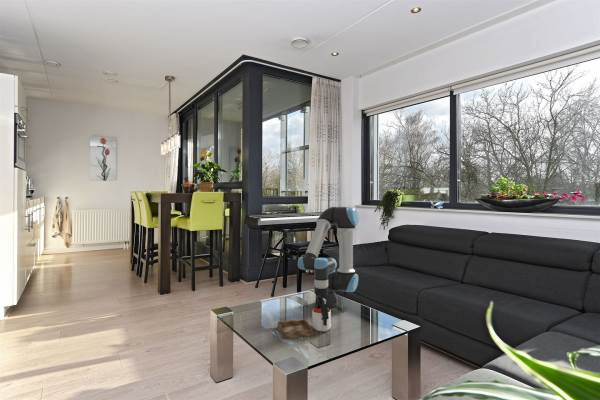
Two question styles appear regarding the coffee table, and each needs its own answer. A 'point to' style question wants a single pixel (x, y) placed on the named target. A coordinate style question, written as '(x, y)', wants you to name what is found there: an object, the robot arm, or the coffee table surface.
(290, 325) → the wooden tray
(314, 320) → the cup
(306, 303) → the coffee table surface
